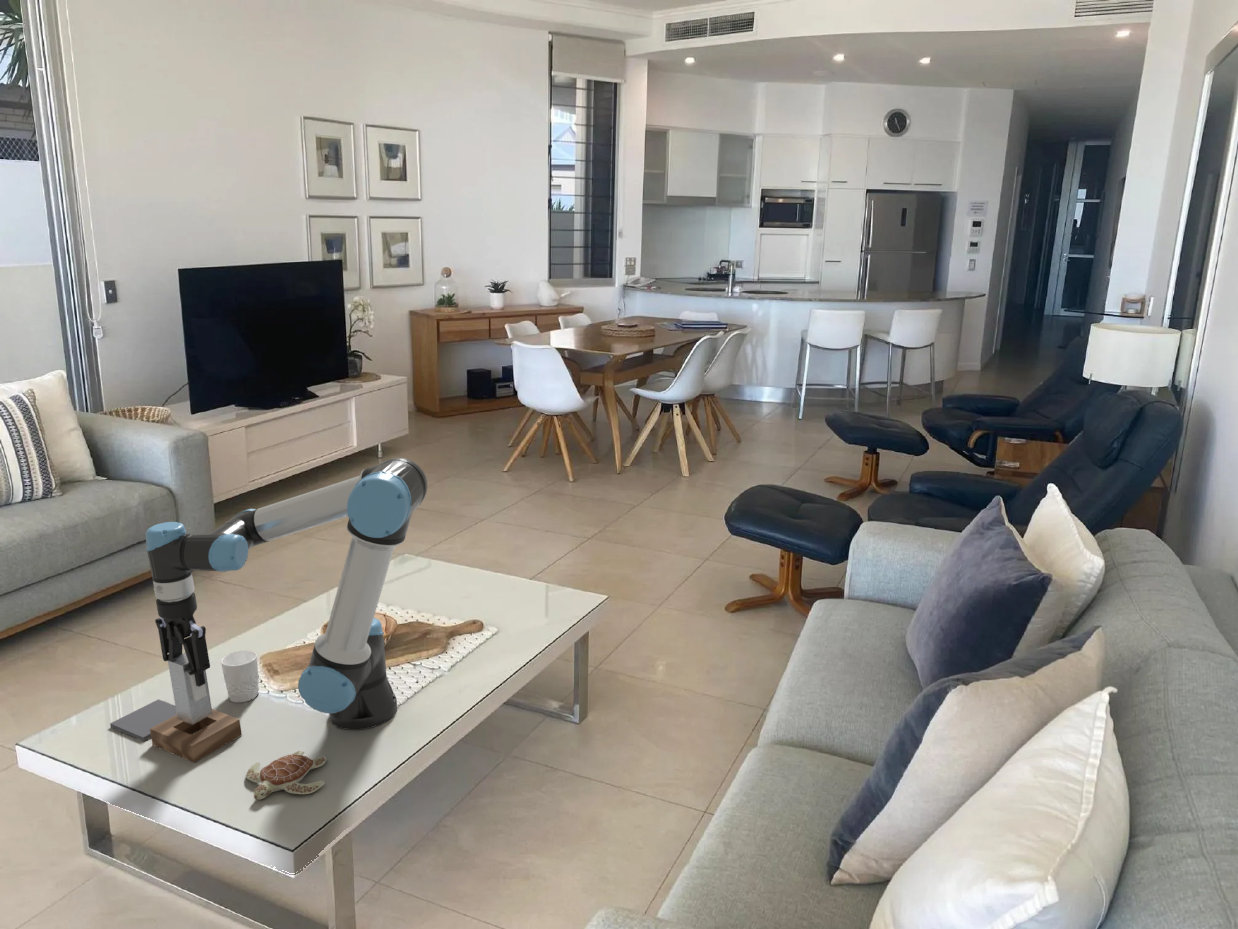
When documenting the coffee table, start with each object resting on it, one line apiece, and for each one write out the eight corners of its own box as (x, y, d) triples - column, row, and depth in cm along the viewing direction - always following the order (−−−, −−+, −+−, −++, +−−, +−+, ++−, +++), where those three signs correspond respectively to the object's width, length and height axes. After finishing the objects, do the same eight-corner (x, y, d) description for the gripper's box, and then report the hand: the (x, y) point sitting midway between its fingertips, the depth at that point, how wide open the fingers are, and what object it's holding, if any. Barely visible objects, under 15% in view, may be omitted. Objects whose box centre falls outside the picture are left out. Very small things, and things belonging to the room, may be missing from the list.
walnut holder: (241, 735, 206) (239, 719, 205) (194, 763, 196) (191, 746, 195) (200, 719, 212) (198, 703, 211) (152, 745, 202) (149, 728, 201)
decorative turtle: (221, 794, 186) (218, 773, 184) (280, 751, 200) (278, 730, 199) (292, 817, 179) (289, 794, 177) (348, 770, 193) (346, 749, 192)
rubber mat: (192, 716, 214) (191, 712, 214) (143, 741, 204) (143, 737, 204) (159, 703, 220) (158, 699, 219) (110, 727, 210) (110, 723, 209)
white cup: (249, 705, 218) (244, 667, 215) (219, 702, 220) (213, 664, 217) (268, 689, 225) (263, 651, 223) (239, 686, 227) (233, 649, 224)
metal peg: (212, 713, 203) (203, 655, 200) (192, 724, 199) (182, 665, 195) (197, 708, 206) (188, 651, 202) (177, 719, 202) (167, 660, 198)
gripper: (132, 594, 196) (149, 693, 202) (187, 610, 187) (203, 713, 194) (164, 581, 202) (180, 678, 209) (219, 596, 194) (234, 696, 200)
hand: (191, 694), depth 201 cm, fingers closed on metal peg, 5 cm apart
